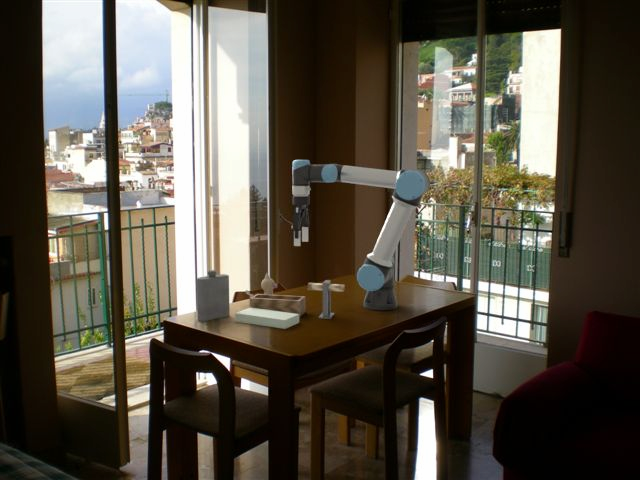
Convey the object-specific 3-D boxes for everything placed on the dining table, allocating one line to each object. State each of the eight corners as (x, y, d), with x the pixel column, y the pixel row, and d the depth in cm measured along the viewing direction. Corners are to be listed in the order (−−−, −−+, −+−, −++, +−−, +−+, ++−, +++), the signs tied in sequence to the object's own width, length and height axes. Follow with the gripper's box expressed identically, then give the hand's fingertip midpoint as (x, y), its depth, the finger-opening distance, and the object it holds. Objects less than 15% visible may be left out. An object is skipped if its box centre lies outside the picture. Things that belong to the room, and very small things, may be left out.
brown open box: (305, 312, 298) (305, 296, 297) (299, 317, 289) (299, 301, 288) (256, 309, 303) (256, 293, 302) (250, 314, 294) (249, 298, 293)
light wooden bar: (344, 290, 289) (344, 284, 289) (343, 291, 286) (343, 285, 286) (309, 288, 293) (309, 282, 292) (307, 290, 290) (307, 284, 289)
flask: (223, 313, 295) (223, 267, 292) (231, 316, 291) (231, 269, 288) (194, 319, 285) (192, 272, 282) (201, 322, 281) (200, 274, 278)
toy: (275, 306, 308) (275, 273, 306) (243, 305, 311) (243, 272, 308) (279, 303, 314) (279, 271, 312) (247, 302, 317) (247, 270, 314)
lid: (299, 323, 280) (299, 314, 280) (285, 330, 271) (285, 320, 270) (250, 316, 292) (250, 307, 291) (235, 322, 282) (235, 312, 282)
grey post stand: (334, 314, 294) (334, 279, 292) (330, 318, 286) (330, 283, 284) (323, 313, 295) (323, 279, 293) (318, 318, 287) (318, 282, 285)
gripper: (302, 197, 287) (302, 248, 290) (316, 193, 311) (316, 240, 314) (284, 197, 289) (285, 247, 291) (300, 193, 313) (300, 239, 315)
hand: (301, 243), depth 303 cm, fingers open, 13 cm apart
